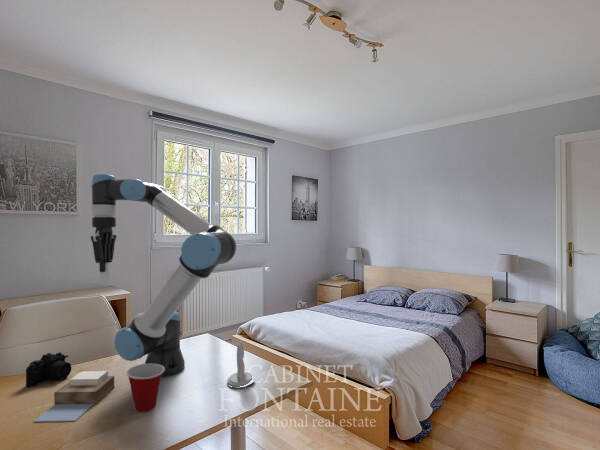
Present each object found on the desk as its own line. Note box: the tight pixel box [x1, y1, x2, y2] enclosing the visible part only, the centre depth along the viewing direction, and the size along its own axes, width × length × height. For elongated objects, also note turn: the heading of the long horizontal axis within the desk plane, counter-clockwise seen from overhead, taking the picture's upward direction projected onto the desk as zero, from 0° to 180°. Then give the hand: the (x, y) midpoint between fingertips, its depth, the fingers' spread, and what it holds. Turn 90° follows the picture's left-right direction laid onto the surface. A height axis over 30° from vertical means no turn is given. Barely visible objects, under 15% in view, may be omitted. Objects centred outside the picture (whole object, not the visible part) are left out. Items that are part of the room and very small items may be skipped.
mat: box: [33, 403, 95, 423], centre depth 101 cm, size 12×9×1 cm
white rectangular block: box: [69, 370, 109, 385], centre depth 113 cm, size 9×6×2 cm, turn 91°
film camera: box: [25, 351, 72, 388], centre depth 124 cm, size 15×10×9 cm, turn 169°
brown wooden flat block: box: [53, 375, 115, 405], centre depth 111 cm, size 13×11×4 cm
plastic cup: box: [126, 363, 165, 413], centre depth 104 cm, size 11×11×12 cm
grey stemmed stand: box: [226, 340, 253, 388], centre depth 121 cm, size 10×10×15 cm
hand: (104, 280), depth 123 cm, fingers closed
